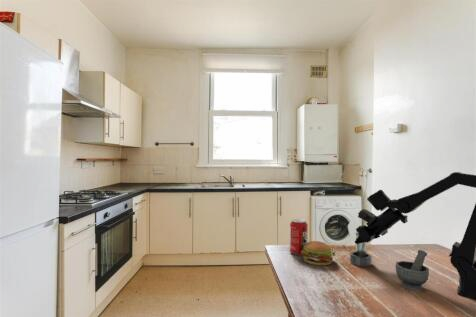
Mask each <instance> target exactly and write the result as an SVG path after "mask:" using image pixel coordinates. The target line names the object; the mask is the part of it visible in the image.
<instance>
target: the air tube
mask: <svg viewBox="0 0 476 317" xmlns="http://www.w3.org/2000/svg"><path fill="white" fill-rule="evenodd" d="M357 228H358V227H356V228H355V240H356V239H357V237H358V236H359V233H358V232H357V231H356V229H357ZM355 251H356V256H358V257H366V253H367V242H364V243H359V244H356V243H355Z"/></svg>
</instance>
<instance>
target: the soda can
mask: <svg viewBox="0 0 476 317" xmlns="http://www.w3.org/2000/svg"><path fill="white" fill-rule="evenodd" d="M308 227H309V225H308V223H307V220H306V219H302V218H293V219H291V222H290V223H289V252H290V253H291V254H293V255H295V256H302V254H301V251H302V250H303V246H305V244H306V243H308V236H309V235H308V232H309V230H308V229H309V228H308Z"/></svg>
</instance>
